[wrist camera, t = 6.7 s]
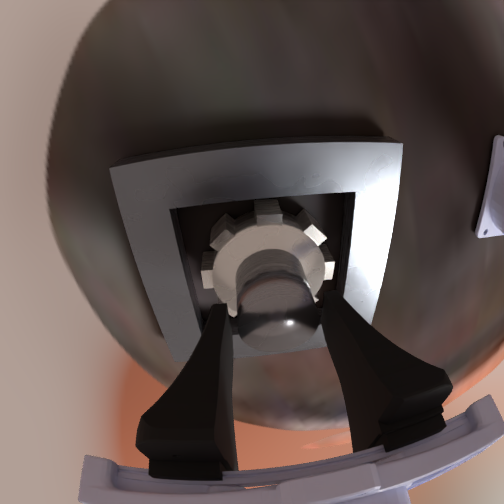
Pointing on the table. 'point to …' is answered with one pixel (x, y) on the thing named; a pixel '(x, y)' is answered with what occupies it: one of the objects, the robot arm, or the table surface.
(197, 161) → the carrier plate
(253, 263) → the planet gear
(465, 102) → the table surface
